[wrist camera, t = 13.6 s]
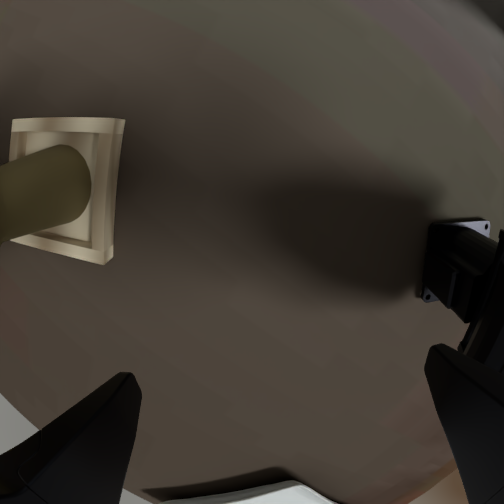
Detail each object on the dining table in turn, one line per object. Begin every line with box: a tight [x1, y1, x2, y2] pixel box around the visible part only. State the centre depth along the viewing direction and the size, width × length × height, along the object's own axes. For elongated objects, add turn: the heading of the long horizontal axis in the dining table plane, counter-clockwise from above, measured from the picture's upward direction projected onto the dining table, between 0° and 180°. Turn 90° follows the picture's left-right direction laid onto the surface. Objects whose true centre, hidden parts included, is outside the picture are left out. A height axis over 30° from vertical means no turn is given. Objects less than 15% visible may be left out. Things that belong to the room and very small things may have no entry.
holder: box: [9, 117, 125, 265], centre depth 18 cm, size 10×10×2 cm
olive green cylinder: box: [0, 144, 92, 246], centre depth 13 cm, size 6×6×11 cm
